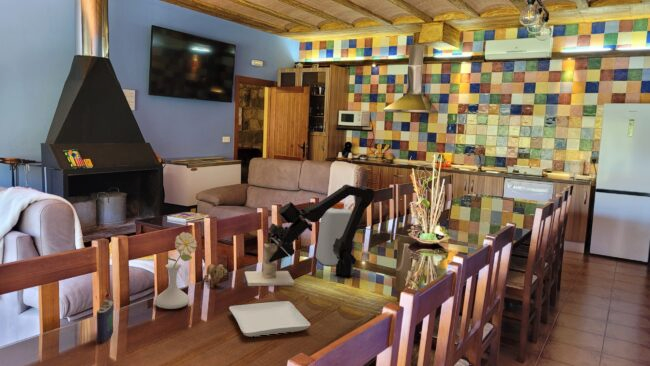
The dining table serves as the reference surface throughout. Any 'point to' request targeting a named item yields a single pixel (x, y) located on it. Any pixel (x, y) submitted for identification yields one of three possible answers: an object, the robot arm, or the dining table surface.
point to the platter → (258, 280)
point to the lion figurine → (215, 273)
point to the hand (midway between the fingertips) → (266, 258)
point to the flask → (105, 322)
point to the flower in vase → (173, 294)
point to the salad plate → (268, 318)
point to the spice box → (268, 267)
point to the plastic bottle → (331, 233)
